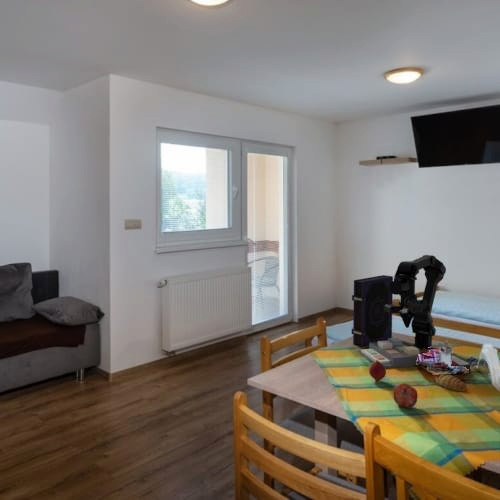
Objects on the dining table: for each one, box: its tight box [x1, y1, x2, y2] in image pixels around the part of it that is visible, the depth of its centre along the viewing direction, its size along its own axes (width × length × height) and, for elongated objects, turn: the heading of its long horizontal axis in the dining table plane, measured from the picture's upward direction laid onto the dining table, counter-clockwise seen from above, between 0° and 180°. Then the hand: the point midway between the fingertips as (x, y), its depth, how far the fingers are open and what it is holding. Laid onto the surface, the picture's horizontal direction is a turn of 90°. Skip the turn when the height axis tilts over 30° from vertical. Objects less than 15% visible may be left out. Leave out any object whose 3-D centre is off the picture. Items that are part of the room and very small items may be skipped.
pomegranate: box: [392, 383, 419, 409], centre depth 148 cm, size 7×7×10 cm
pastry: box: [437, 374, 468, 392], centre depth 163 cm, size 9×7×4 cm
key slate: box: [387, 337, 404, 346], centre depth 200 cm, size 4×4×3 cm
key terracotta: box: [385, 350, 400, 354], centre depth 190 cm, size 4×4×3 cm
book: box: [351, 274, 394, 348], centre depth 218 cm, size 24×6×30 cm, turn 130°
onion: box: [368, 360, 387, 382], centre depth 168 cm, size 6×6×8 cm
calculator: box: [434, 355, 471, 374], centre depth 180 cm, size 11×4×15 cm
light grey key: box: [378, 340, 392, 349], centre depth 196 cm, size 4×4×3 cm
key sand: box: [403, 345, 420, 355], centre depth 188 cm, size 4×4×3 cm
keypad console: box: [357, 342, 418, 369], centre depth 193 cm, size 19×21×4 cm
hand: (407, 327), depth 197 cm, fingers closed
